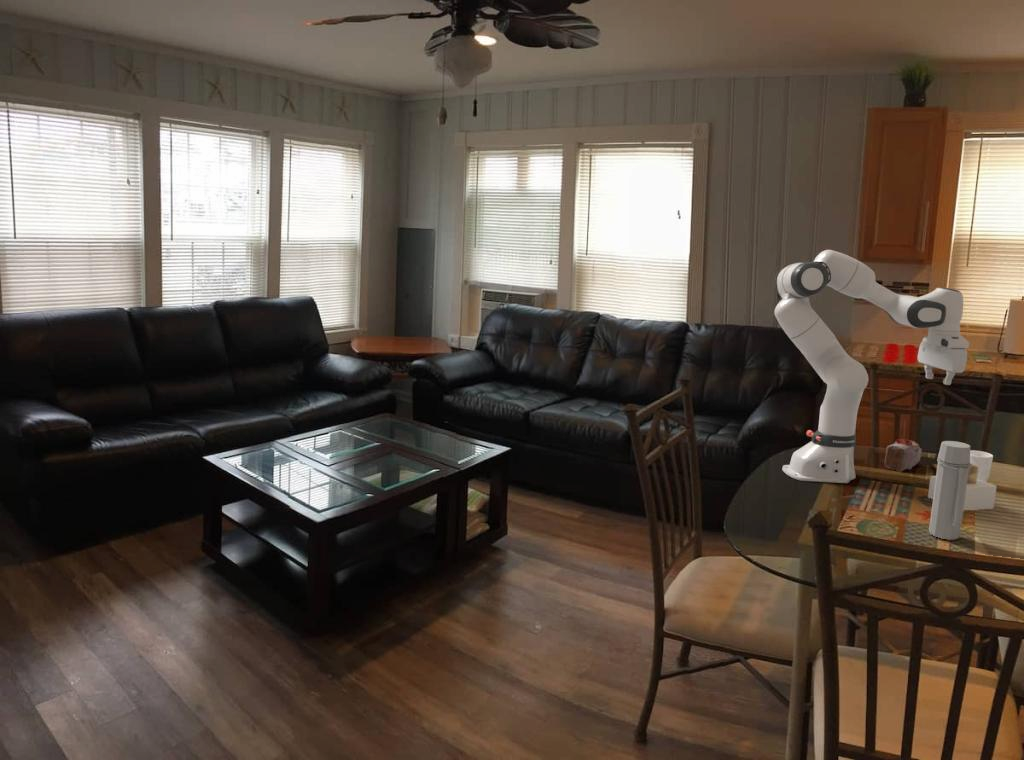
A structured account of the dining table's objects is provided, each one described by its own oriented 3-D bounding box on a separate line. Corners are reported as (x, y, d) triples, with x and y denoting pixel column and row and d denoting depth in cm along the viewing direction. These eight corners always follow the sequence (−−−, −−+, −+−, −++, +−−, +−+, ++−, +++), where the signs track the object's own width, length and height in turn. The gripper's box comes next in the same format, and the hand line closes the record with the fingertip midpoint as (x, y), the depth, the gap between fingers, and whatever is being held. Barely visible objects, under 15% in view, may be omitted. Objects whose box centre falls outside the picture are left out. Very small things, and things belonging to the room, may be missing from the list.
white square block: (959, 512, 226) (962, 489, 225) (927, 498, 238) (930, 476, 236) (993, 509, 230) (996, 486, 228) (960, 495, 241) (963, 473, 239)
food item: (897, 460, 276) (900, 433, 274) (921, 465, 270) (925, 437, 268) (881, 468, 266) (884, 439, 264) (906, 473, 261) (909, 445, 259)
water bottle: (922, 530, 211) (934, 439, 207) (953, 531, 211) (965, 441, 206) (937, 543, 202) (949, 449, 198) (969, 545, 202) (982, 451, 197)
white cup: (992, 489, 247) (997, 458, 245) (965, 486, 248) (969, 456, 246) (983, 481, 254) (987, 451, 252) (956, 479, 256) (960, 449, 254)
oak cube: (959, 483, 230) (961, 466, 229) (949, 477, 235) (951, 461, 234) (976, 483, 230) (978, 467, 229) (965, 478, 235) (967, 461, 234)
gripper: (915, 334, 262) (910, 375, 264) (953, 343, 242) (947, 387, 244) (933, 334, 262) (928, 375, 265) (973, 343, 242) (967, 387, 245)
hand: (937, 381), depth 254 cm, fingers open, 8 cm apart
